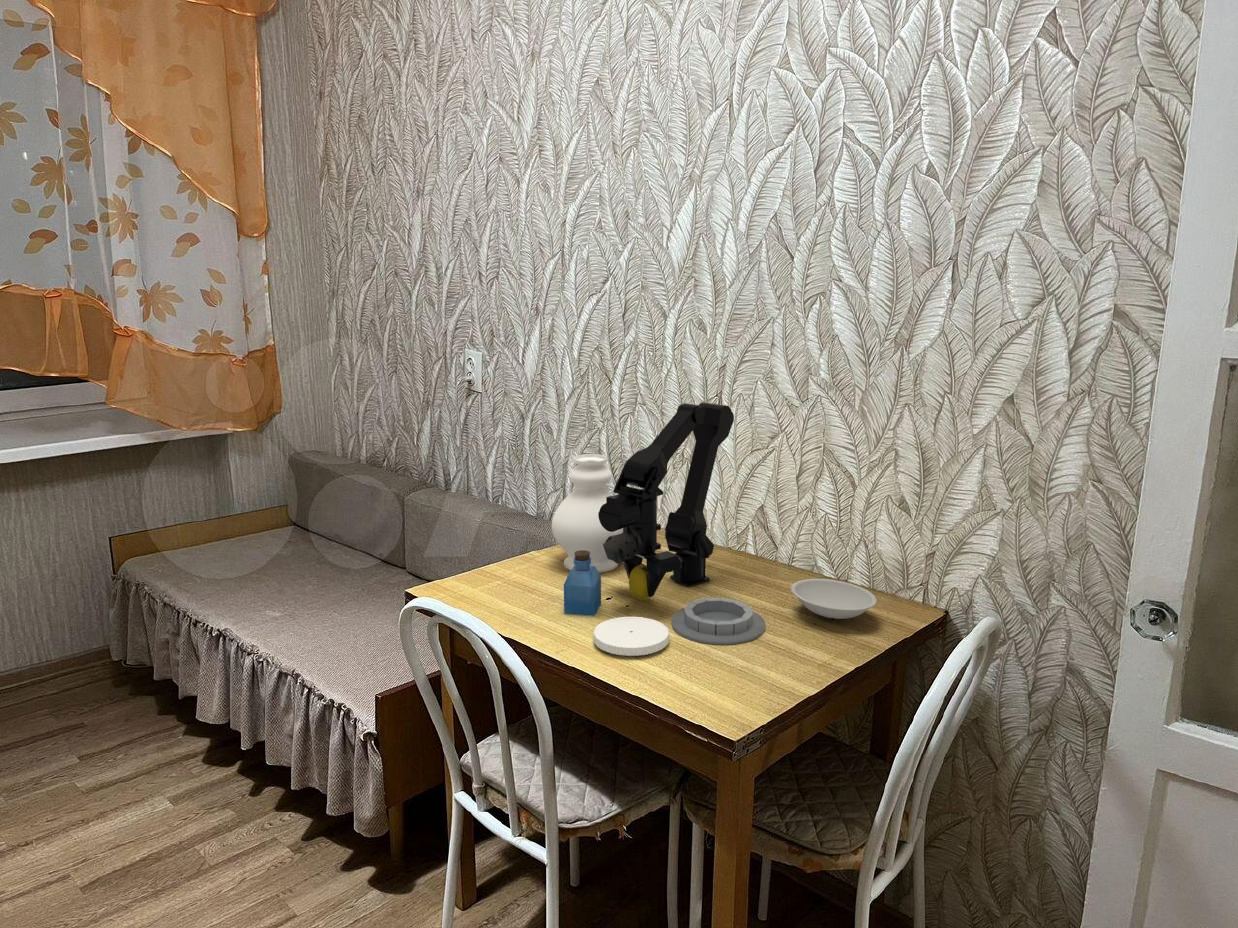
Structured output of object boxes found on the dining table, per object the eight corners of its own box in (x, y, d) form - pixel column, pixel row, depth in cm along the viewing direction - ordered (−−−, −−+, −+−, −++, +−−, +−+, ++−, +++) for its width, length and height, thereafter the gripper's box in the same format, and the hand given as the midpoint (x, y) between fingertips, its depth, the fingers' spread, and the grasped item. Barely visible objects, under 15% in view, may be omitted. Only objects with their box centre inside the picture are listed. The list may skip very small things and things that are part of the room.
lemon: (627, 595, 198) (627, 559, 196) (654, 594, 199) (654, 558, 197) (630, 606, 193) (630, 568, 191) (657, 605, 193) (657, 568, 191)
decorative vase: (644, 559, 220) (645, 454, 214) (602, 583, 206) (601, 471, 200) (581, 546, 230) (580, 445, 224) (536, 567, 215) (534, 461, 209)
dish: (773, 613, 190) (774, 589, 189) (818, 595, 199) (819, 572, 198) (846, 641, 177) (848, 616, 176) (890, 621, 186) (892, 597, 185)
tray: (722, 600, 196) (722, 586, 196) (784, 629, 182) (785, 615, 181) (653, 620, 186) (653, 606, 186) (713, 653, 172) (713, 637, 171)
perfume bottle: (594, 616, 189) (593, 559, 186) (564, 613, 190) (563, 556, 187) (601, 604, 195) (600, 548, 192) (571, 601, 196) (571, 546, 193)
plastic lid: (684, 646, 176) (684, 633, 175) (625, 668, 167) (625, 654, 167) (636, 622, 186) (636, 610, 186) (578, 641, 178) (578, 629, 177)
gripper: (583, 515, 194) (584, 586, 198) (637, 539, 179) (637, 615, 183) (627, 506, 200) (627, 575, 204) (683, 528, 186) (682, 602, 190)
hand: (642, 591), depth 195 cm, fingers closed on lemon, 5 cm apart
